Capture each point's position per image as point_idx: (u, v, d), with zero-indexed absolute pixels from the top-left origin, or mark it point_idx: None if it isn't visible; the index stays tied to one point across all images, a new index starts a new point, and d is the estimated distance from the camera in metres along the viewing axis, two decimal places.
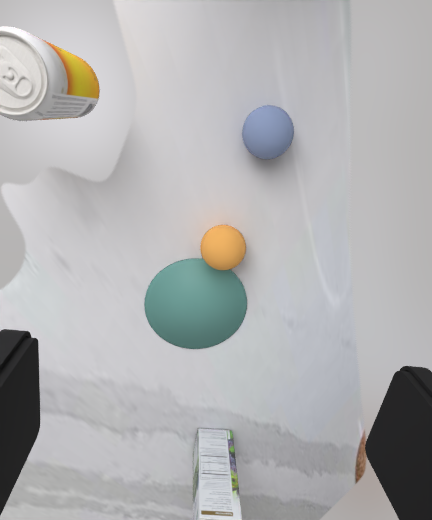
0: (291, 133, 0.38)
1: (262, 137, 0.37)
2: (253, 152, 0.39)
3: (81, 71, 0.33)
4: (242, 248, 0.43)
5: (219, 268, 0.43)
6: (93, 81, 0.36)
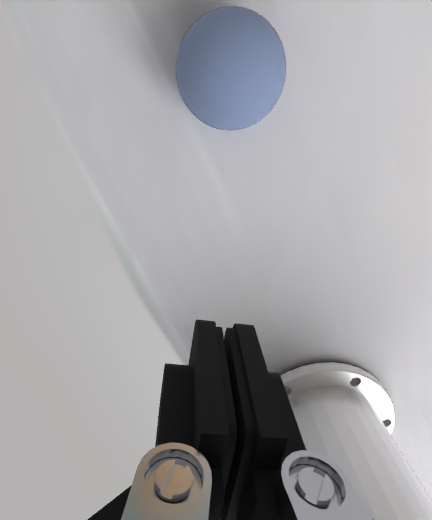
0: (188, 78, 0.17)
1: (258, 53, 0.16)
2: (260, 16, 0.17)
3: None
4: None
5: None
6: None
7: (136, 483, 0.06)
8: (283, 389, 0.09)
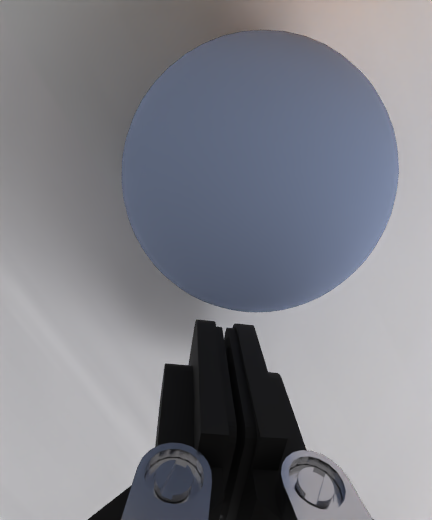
0: None
1: None
2: None
3: None
4: None
5: None
6: None
7: (136, 483, 0.06)
8: (283, 389, 0.09)
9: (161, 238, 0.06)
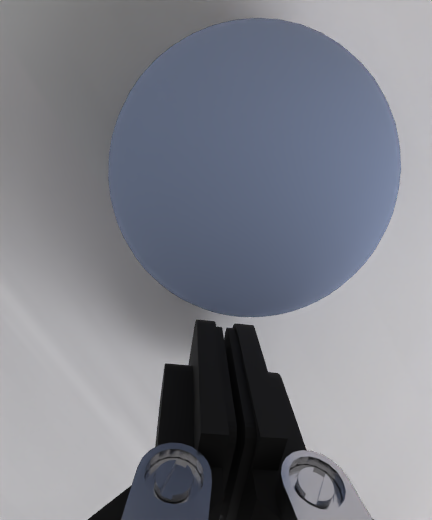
0: None
1: None
2: None
3: None
4: None
5: None
6: None
7: (136, 483, 0.06)
8: (283, 389, 0.09)
9: (149, 241, 0.06)
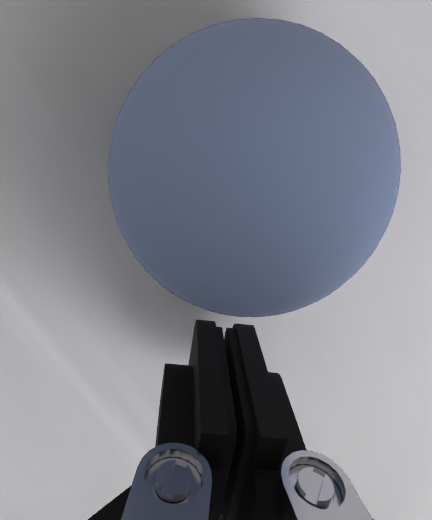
0: None
1: None
2: None
3: None
4: None
5: None
6: None
7: (136, 483, 0.06)
8: (283, 389, 0.09)
9: (149, 241, 0.06)
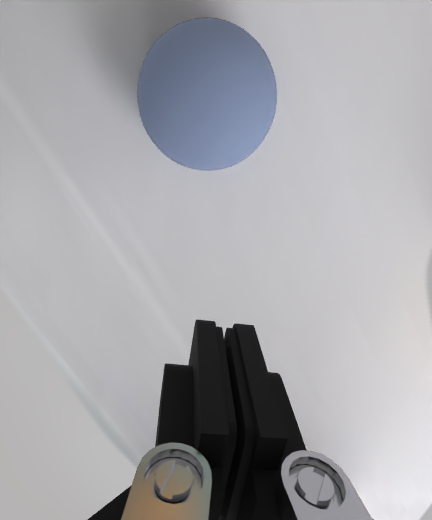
0: None
1: None
2: None
3: None
4: None
5: None
6: None
7: (136, 483, 0.06)
8: (283, 389, 0.09)
9: (158, 120, 0.13)
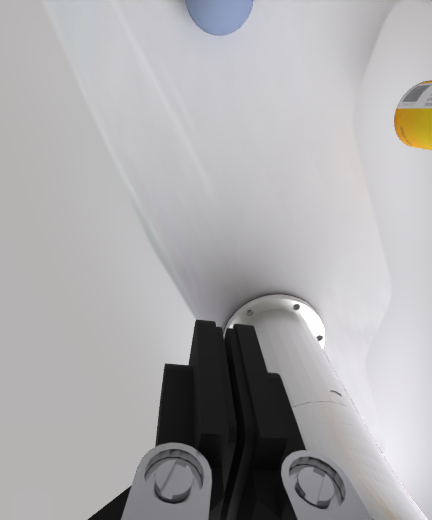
0: None
1: None
2: None
3: (431, 134, 0.31)
4: None
5: None
6: (406, 126, 0.34)
7: (136, 483, 0.06)
8: (283, 389, 0.09)
9: None
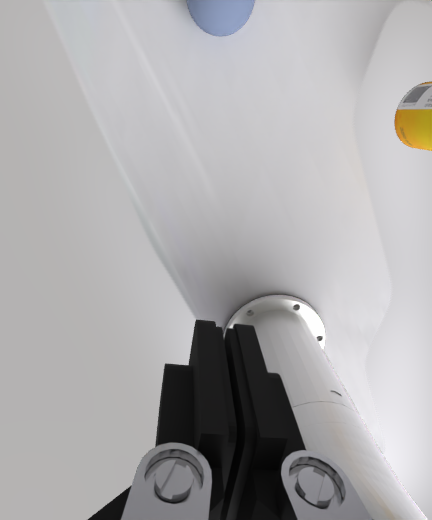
0: None
1: None
2: None
3: (431, 135, 0.31)
4: None
5: None
6: (406, 127, 0.34)
7: (136, 483, 0.06)
8: (283, 389, 0.09)
9: None
